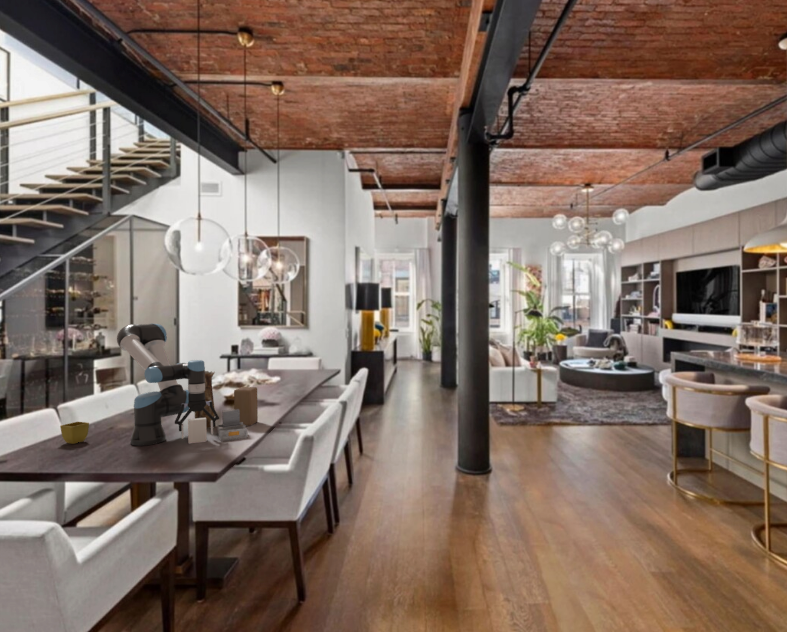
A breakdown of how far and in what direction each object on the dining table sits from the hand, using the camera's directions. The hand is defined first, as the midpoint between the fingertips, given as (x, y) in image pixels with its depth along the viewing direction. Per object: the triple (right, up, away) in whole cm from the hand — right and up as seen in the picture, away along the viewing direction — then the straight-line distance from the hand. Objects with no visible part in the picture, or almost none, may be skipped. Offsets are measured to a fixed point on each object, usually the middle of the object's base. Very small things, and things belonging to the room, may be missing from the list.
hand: (197, 436), depth 223 cm
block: (+13, -2, +34) cm, 36 cm away
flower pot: (-60, -3, 0) cm, 60 cm away
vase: (-8, -2, +29) cm, 30 cm away
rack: (+13, -2, +10) cm, 17 cm away
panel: (0, -3, 0) cm, 3 cm away
